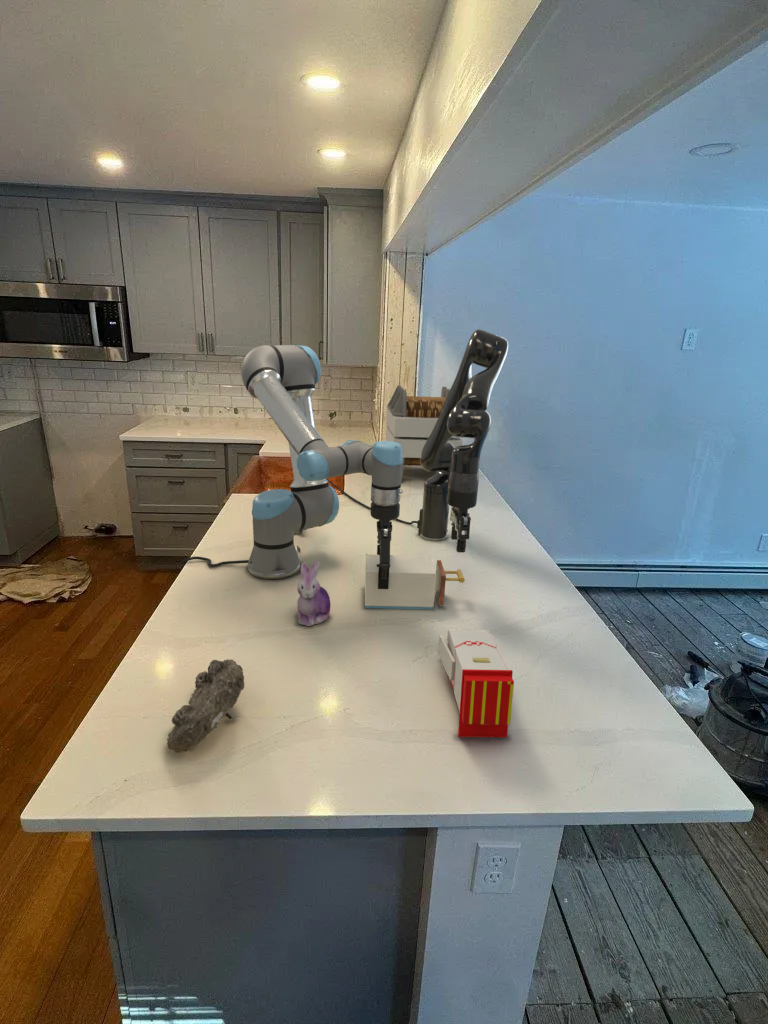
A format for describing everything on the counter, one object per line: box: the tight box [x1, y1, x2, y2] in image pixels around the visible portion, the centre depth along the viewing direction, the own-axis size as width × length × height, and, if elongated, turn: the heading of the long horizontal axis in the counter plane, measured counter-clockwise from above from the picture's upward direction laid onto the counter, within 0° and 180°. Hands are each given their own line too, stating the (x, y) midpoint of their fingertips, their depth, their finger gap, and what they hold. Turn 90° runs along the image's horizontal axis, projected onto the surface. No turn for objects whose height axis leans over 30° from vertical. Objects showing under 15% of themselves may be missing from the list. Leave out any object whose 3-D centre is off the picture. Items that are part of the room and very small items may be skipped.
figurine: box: [297, 561, 331, 627], centre depth 141 cm, size 9×10×15 cm
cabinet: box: [364, 554, 436, 610], centre depth 153 cm, size 18×11×11 cm, turn 92°
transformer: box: [384, 384, 464, 483], centre depth 268 cm, size 34×33×41 cm
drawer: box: [435, 559, 466, 606], centre depth 154 cm, size 23×10×9 cm, turn 92°
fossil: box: [166, 658, 245, 754], centre depth 106 cm, size 22×10×15 cm
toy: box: [437, 628, 515, 738], centre depth 117 cm, size 12×13×30 cm
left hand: (382, 577), depth 153 cm, fingers open, 12 cm apart
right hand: (457, 545), depth 151 cm, fingers open, 8 cm apart
